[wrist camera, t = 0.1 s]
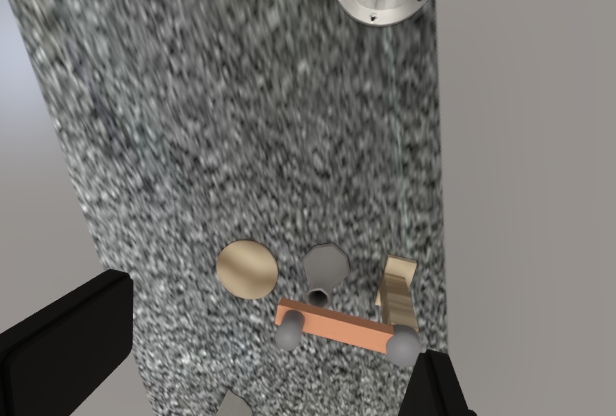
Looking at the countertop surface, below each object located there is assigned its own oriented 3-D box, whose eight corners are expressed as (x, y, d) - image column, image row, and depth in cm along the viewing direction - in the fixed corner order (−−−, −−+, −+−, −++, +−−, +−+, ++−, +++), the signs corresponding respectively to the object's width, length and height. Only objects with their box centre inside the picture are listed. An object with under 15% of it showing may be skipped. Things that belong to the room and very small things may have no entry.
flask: (358, 274, 49) (357, 312, 40) (317, 292, 51) (307, 333, 42) (335, 234, 48) (328, 263, 38) (294, 254, 50) (278, 287, 40)
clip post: (388, 254, 47) (397, 303, 35) (415, 260, 47) (434, 312, 35) (375, 300, 50) (379, 361, 37) (401, 307, 49) (413, 371, 37)
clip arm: (282, 293, 37) (270, 319, 32) (422, 329, 35) (432, 363, 30) (277, 319, 38) (265, 349, 33) (413, 356, 36) (421, 392, 31)
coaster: (222, 233, 51) (219, 234, 50) (283, 248, 50) (282, 250, 49) (215, 288, 54) (213, 290, 53) (273, 303, 53) (272, 305, 52)
